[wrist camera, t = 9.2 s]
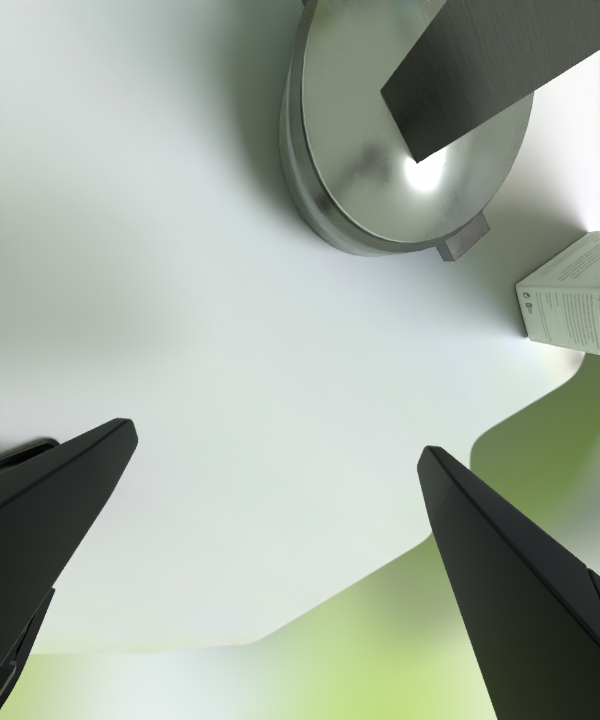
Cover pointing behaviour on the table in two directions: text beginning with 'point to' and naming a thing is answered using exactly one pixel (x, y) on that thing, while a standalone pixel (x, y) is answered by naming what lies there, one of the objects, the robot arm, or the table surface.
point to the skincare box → (565, 298)
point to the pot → (312, 195)
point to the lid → (428, 102)
